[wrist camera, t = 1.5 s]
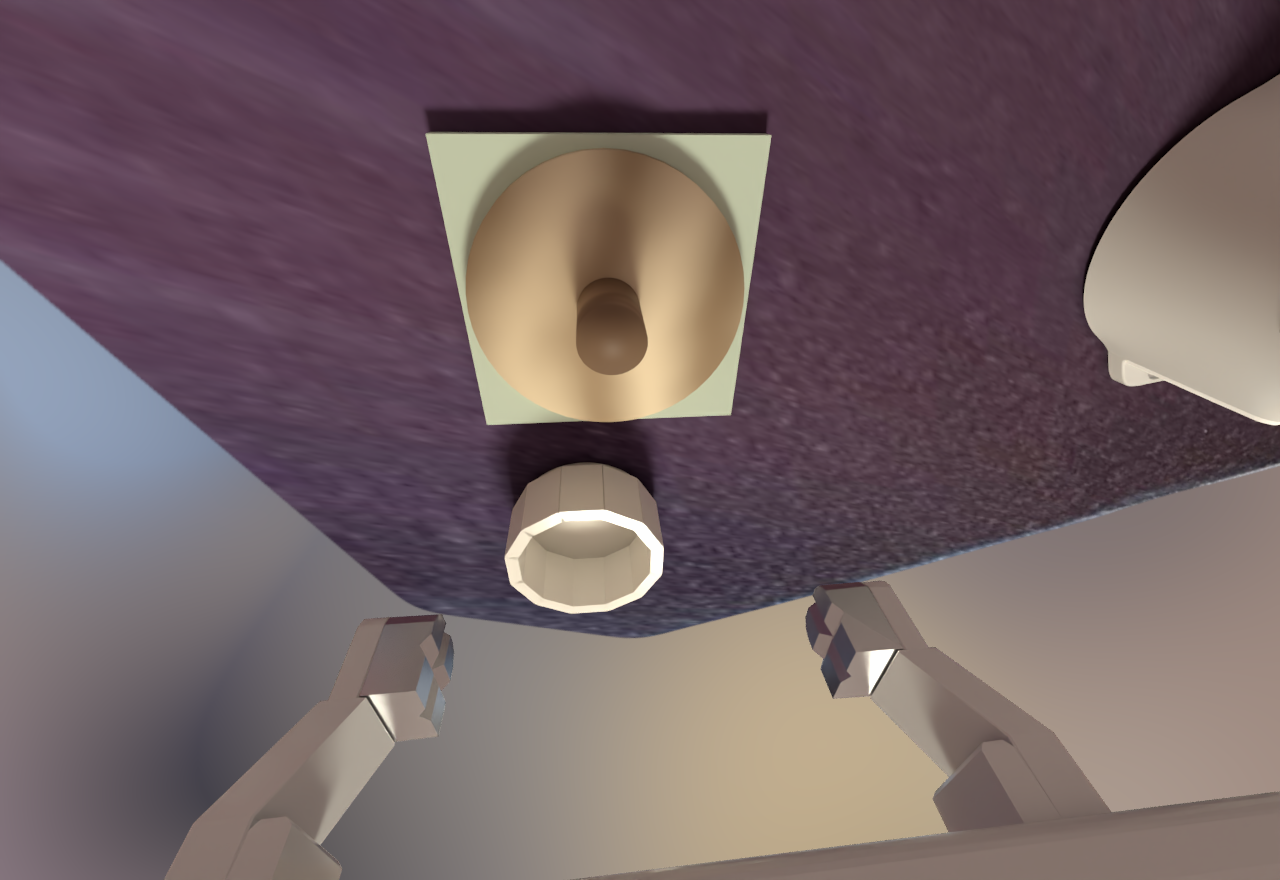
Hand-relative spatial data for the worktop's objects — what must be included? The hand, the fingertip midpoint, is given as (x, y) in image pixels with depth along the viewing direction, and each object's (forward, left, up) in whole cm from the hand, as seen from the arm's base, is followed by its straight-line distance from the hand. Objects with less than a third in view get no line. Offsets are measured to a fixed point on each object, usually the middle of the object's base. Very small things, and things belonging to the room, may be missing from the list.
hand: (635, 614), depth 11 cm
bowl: (+2, +16, -20) cm, 25 cm away
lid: (0, 0, -19) cm, 19 cm away
